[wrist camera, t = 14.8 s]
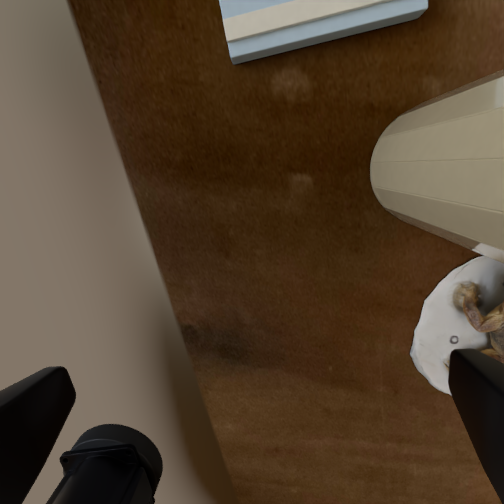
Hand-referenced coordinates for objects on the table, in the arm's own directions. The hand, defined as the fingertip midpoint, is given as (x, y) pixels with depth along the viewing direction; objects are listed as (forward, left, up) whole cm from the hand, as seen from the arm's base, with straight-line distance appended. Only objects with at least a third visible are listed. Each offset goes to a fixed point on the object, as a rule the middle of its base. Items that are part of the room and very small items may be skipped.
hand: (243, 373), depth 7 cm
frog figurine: (+14, -9, -14) cm, 22 cm away
